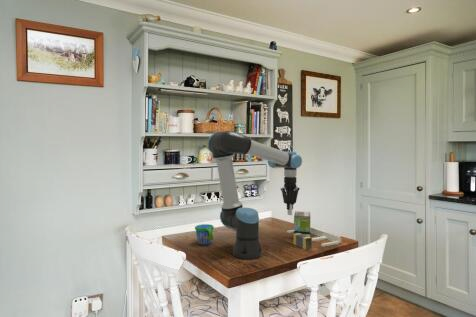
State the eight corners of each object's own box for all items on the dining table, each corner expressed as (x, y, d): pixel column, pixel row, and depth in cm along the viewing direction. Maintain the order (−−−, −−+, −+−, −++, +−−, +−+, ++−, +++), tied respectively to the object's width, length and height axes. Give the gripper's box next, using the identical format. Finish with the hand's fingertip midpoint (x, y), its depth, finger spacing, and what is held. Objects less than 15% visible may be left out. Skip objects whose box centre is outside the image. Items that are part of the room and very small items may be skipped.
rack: (323, 246, 176) (323, 239, 176) (286, 232, 208) (286, 226, 208) (341, 243, 182) (341, 236, 182) (303, 230, 214) (303, 224, 214)
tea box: (310, 240, 189) (310, 215, 189) (293, 239, 191) (293, 215, 191) (310, 234, 204) (310, 211, 204) (294, 233, 206) (294, 210, 206)
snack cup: (191, 241, 188) (190, 224, 188) (207, 239, 194) (207, 222, 193) (201, 248, 175) (201, 230, 175) (218, 245, 180) (218, 227, 180)
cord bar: (305, 249, 171) (305, 238, 171) (293, 244, 181) (293, 233, 181) (311, 248, 173) (311, 237, 173) (299, 243, 183) (299, 233, 183)
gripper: (284, 177, 188) (284, 216, 188) (302, 176, 194) (302, 215, 194) (278, 176, 195) (277, 214, 195) (295, 176, 201) (294, 213, 201)
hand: (289, 214), depth 195 cm, fingers closed
